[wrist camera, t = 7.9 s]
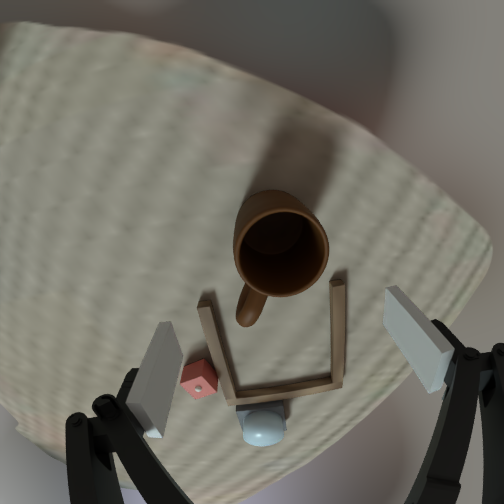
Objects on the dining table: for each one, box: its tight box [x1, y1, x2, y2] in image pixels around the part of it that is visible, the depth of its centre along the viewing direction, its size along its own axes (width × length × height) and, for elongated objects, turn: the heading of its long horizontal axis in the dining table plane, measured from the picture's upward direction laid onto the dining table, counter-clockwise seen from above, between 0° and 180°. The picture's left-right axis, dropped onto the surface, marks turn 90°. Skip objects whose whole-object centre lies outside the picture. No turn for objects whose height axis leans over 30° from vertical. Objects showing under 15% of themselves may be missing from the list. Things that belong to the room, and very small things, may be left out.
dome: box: [243, 411, 284, 446], centre depth 37 cm, size 6×6×3 cm
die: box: [180, 358, 218, 399], centre depth 35 cm, size 4×4×4 cm
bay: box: [197, 279, 345, 406], centre depth 35 cm, size 17×18×2 cm
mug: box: [233, 190, 329, 327], centre depth 27 cm, size 12×8×9 cm, turn 157°
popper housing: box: [236, 400, 287, 431], centre depth 40 cm, size 7×7×2 cm
